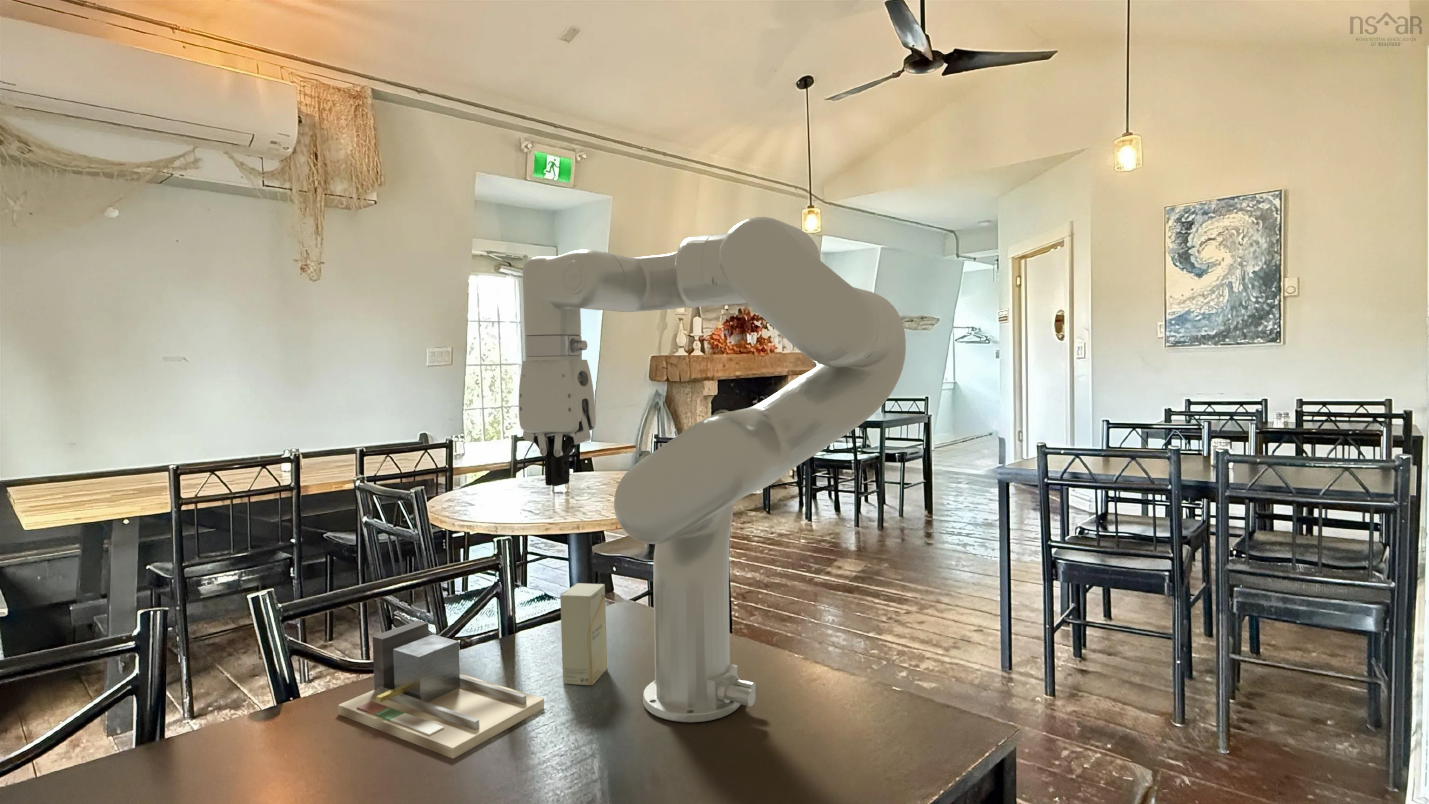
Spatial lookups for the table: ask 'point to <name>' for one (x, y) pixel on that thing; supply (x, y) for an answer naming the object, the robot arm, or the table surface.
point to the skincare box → (583, 633)
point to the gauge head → (425, 669)
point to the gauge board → (436, 704)
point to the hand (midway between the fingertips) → (557, 484)
